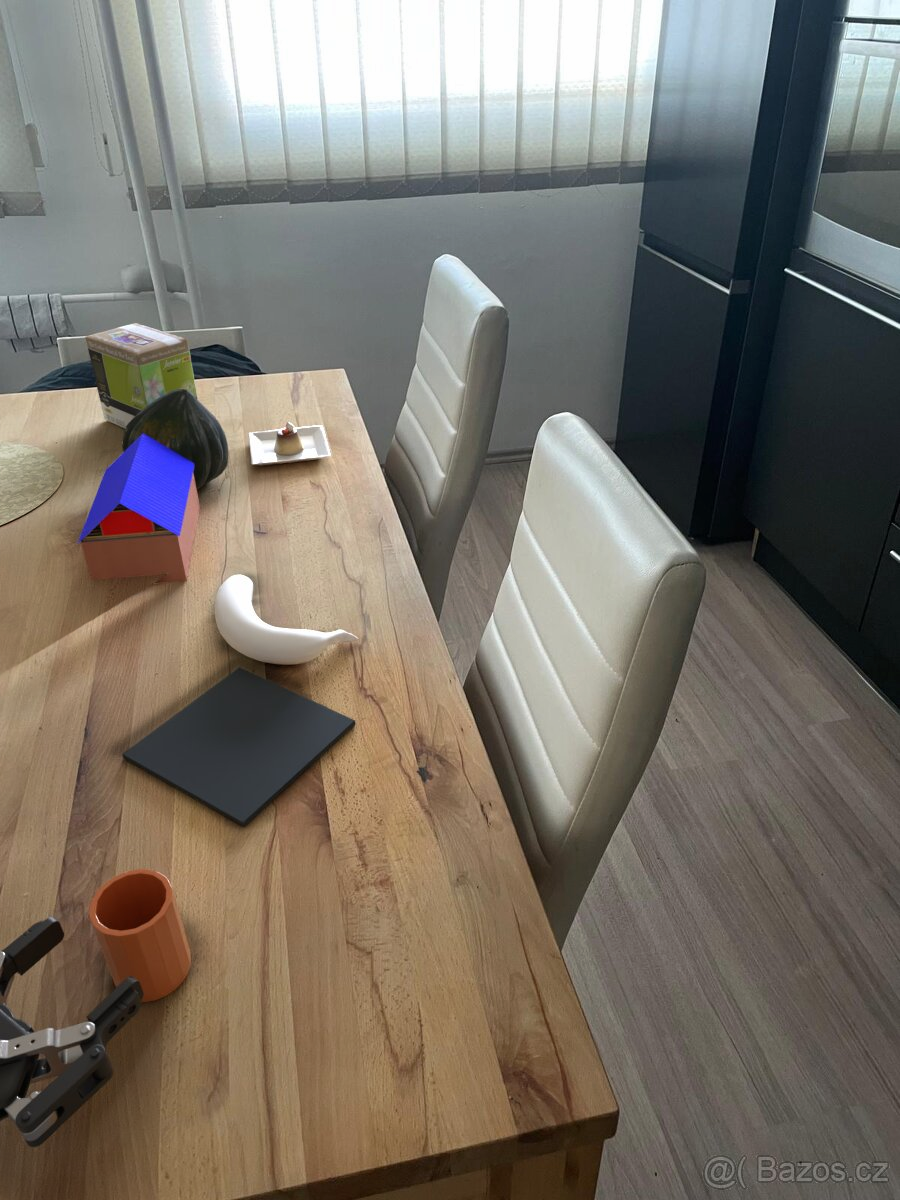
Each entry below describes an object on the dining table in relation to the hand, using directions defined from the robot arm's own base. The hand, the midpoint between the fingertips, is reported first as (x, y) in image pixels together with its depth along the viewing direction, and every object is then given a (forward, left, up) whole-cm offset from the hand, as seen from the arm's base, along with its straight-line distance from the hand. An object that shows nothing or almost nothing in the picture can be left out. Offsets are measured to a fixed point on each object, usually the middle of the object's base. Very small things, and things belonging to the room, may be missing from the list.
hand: (97, 954), depth 64 cm
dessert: (-53, +79, -6) cm, 95 cm away
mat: (-12, +26, -6) cm, 29 cm away
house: (-49, +47, -6) cm, 68 cm away
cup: (0, +4, -6) cm, 7 cm away
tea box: (-80, +75, -6) cm, 109 cm away
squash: (-59, +62, -6) cm, 85 cm away
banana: (-22, +43, -6) cm, 48 cm away
